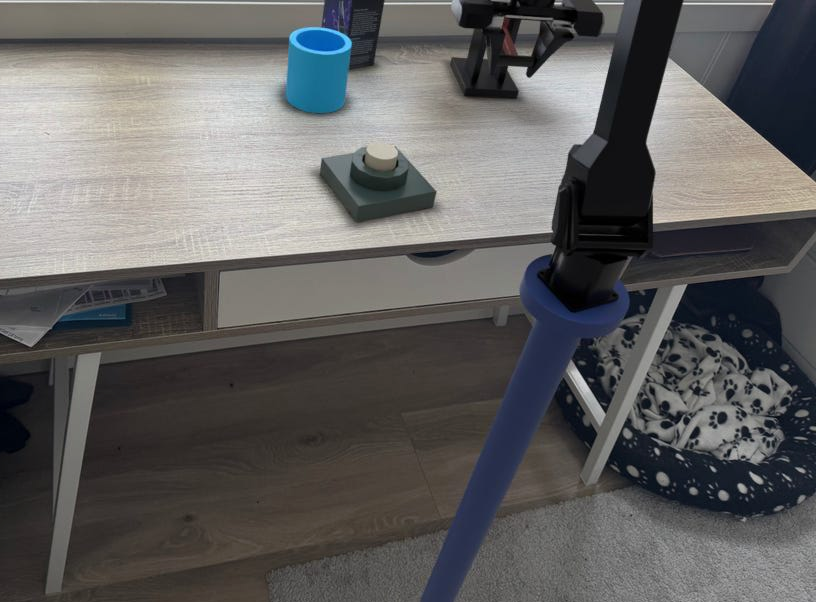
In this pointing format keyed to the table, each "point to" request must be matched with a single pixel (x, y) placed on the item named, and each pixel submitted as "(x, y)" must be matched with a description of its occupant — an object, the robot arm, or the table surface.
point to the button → (381, 156)
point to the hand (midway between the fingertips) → (509, 75)
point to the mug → (317, 69)
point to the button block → (376, 186)
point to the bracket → (484, 69)
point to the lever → (512, 52)
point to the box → (356, 26)
